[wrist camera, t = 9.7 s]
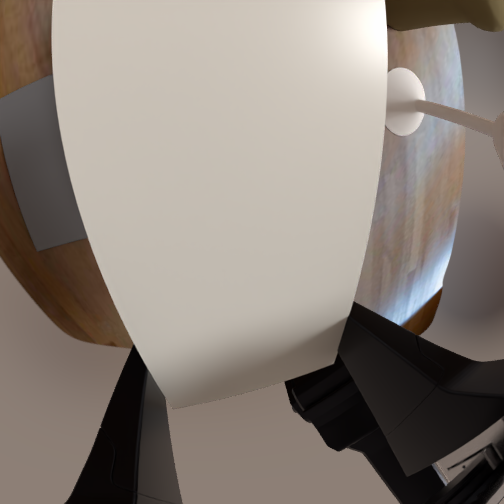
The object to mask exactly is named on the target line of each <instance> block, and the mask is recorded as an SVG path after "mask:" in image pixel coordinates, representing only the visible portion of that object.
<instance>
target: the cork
mask: <svg viewBox="0 0 504 504" xmlns="http://www.w3.org/2000/svg"><path fill="white" fill-rule="evenodd" d="M385 9H386V24H387V25H389V26H390V27H392V28H393V29H396V30H399V31H407V30H412V29H418V28H424V27H431V26H438V25H446V24H456V23H469V22H470V23H472V24H473V25H475V26H476V27H477V28H480V29H482V30H486V31H491V32H499V31H502V30H504V0H385Z"/></svg>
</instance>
